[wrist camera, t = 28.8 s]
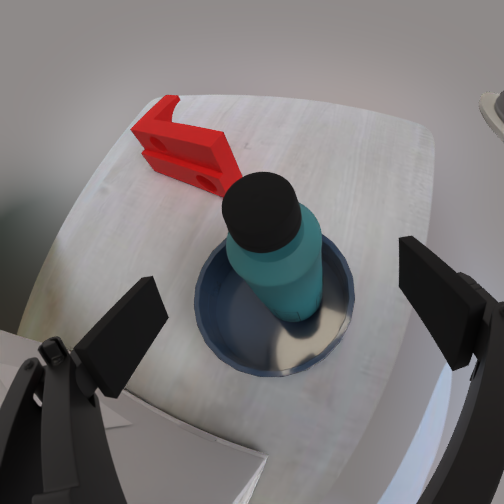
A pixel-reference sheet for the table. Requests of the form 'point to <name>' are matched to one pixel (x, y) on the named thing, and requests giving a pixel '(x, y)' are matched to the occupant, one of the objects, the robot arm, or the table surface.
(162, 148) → the bracket
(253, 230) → the beverage bottle
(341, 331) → the bowl
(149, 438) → the laptop
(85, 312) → the table surface
